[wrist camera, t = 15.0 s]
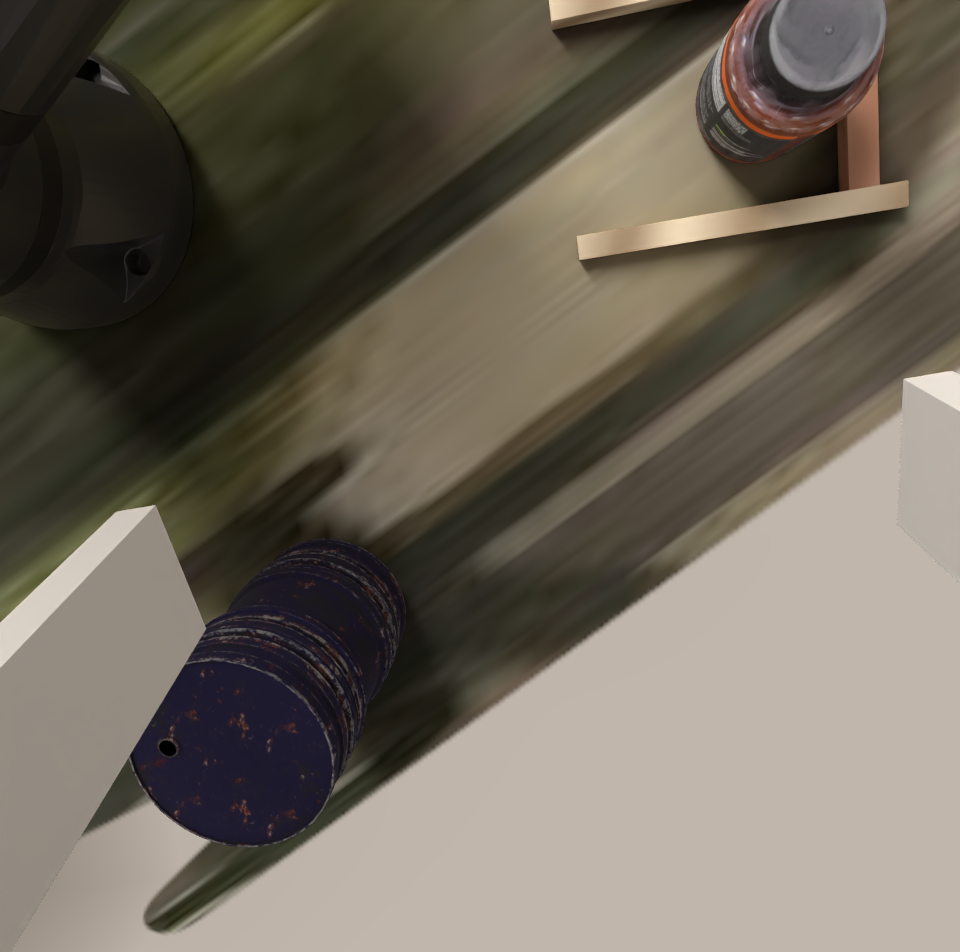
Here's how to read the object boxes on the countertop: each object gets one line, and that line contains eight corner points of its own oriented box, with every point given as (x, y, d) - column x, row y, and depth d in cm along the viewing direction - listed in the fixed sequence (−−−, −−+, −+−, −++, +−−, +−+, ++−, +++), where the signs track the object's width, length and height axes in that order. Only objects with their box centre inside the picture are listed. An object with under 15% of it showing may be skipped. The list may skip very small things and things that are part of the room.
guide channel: (579, 260, 40) (579, 259, 38) (548, 3, 37) (548, -7, 35) (896, 208, 37) (908, 206, 36) (892, -71, 34) (905, -85, 33)
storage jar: (412, 545, 45) (339, 672, 31) (405, 687, 48) (336, 863, 34) (255, 529, 46) (115, 644, 32) (258, 668, 49) (129, 832, 35)
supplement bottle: (835, 50, 36) (951, -46, 25) (790, 178, 37) (881, 141, 27) (715, 21, 36) (778, -87, 25) (676, 149, 38) (719, 100, 27)
